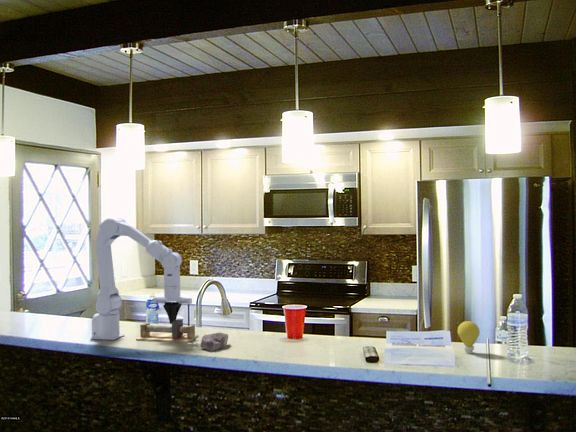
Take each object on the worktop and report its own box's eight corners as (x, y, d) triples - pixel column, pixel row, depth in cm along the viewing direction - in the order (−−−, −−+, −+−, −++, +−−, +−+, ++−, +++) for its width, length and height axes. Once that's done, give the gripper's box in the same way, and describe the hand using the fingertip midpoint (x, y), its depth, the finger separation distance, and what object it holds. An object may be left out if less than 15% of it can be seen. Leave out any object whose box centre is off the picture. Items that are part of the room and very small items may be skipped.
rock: (196, 351, 191) (196, 337, 191) (207, 343, 202) (207, 330, 202) (219, 352, 190) (219, 338, 190) (229, 344, 201) (229, 331, 201)
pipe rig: (135, 340, 209) (135, 326, 209) (149, 334, 218) (149, 321, 218) (186, 342, 203) (186, 328, 203) (198, 336, 213) (198, 323, 213)
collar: (172, 337, 207) (171, 321, 207) (178, 335, 212) (178, 318, 212) (176, 338, 207) (176, 321, 207) (183, 335, 212) (182, 319, 212)
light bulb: (462, 349, 188) (462, 318, 188) (483, 352, 184) (482, 320, 184) (454, 353, 183) (453, 321, 183) (475, 356, 179) (474, 323, 179)
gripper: (148, 286, 208) (149, 324, 208) (185, 287, 204) (186, 326, 204) (158, 284, 215) (158, 321, 215) (194, 285, 211) (194, 322, 211)
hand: (172, 323), depth 210 cm, fingers closed
